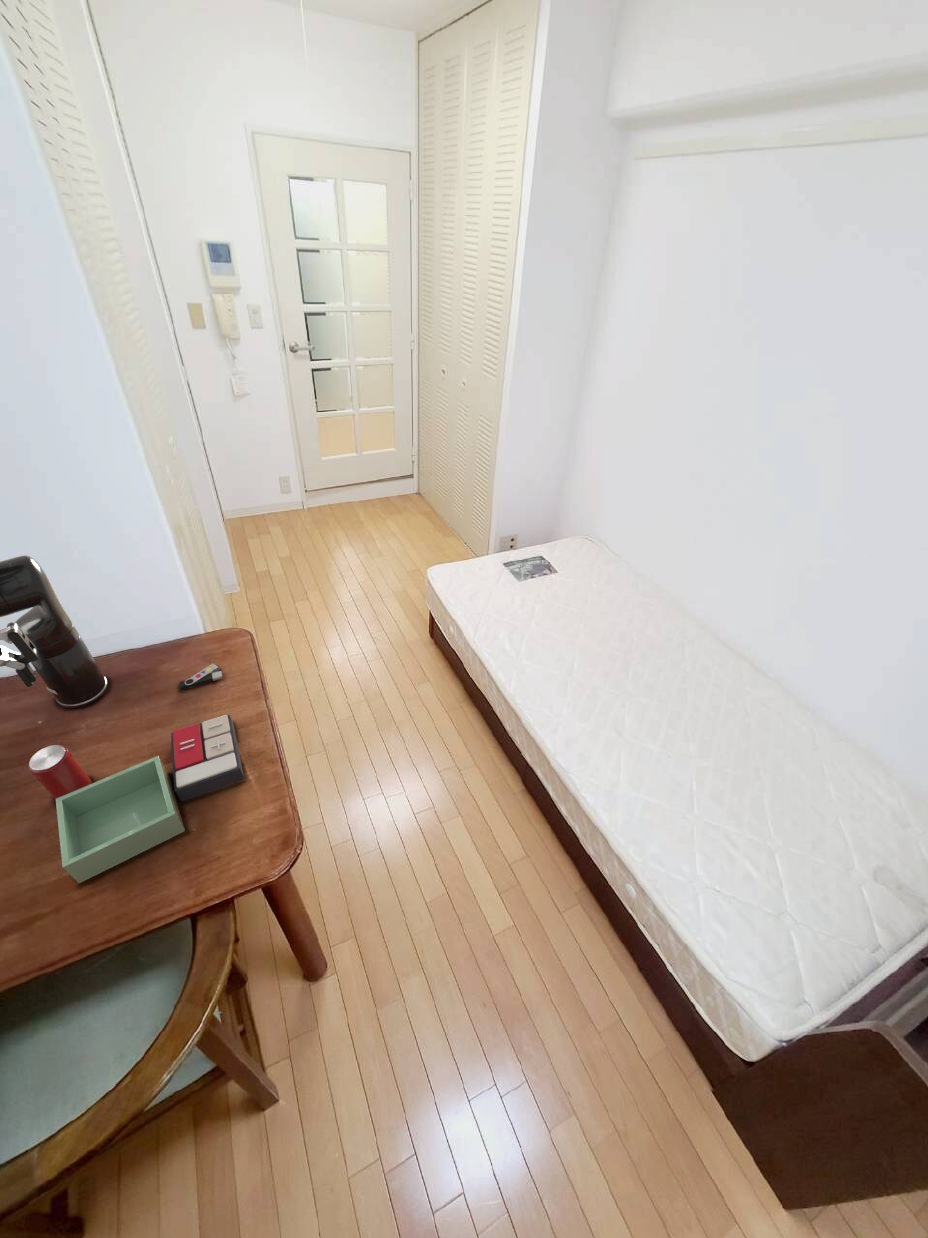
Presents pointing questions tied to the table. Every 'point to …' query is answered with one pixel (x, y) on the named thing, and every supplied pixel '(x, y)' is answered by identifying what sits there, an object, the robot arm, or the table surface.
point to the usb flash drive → (202, 677)
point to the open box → (116, 819)
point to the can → (58, 771)
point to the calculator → (205, 757)
